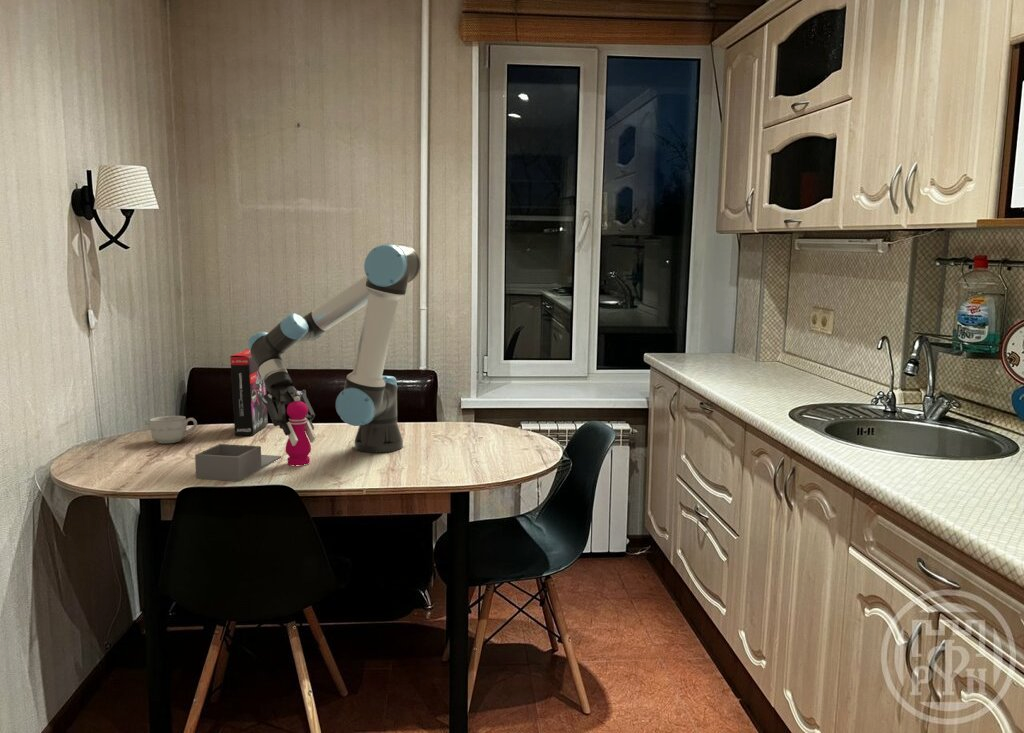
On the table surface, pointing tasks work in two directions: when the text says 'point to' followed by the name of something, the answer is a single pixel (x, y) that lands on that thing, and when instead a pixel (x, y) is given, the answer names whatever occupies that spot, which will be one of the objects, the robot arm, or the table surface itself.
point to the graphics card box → (247, 395)
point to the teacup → (170, 428)
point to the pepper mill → (298, 433)
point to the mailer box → (231, 462)
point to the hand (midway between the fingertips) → (304, 441)
